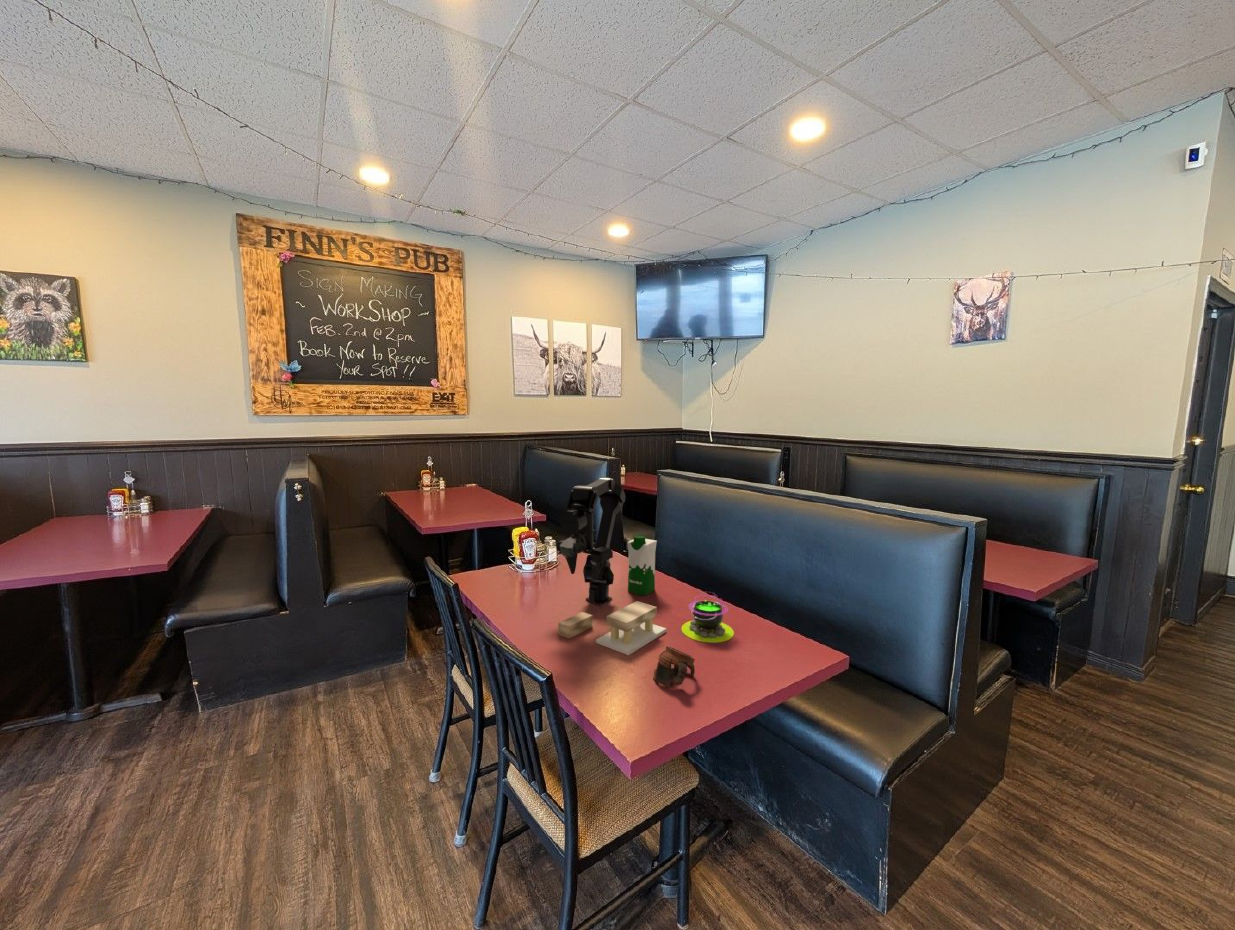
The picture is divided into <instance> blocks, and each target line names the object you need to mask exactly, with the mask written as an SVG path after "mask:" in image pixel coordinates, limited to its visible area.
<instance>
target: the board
mask: <svg viewBox="0 0 1235 930" xmlns="http://www.w3.org/2000/svg"><path fill="white" fill-rule="evenodd" d="M657 610H658V609H657V606H654V605H651V604H648V603H644V602H642V601H637V600H636V601H634V602H632V603H630V604H628V605H626V606H624V607H622V608H620V609H617V610H616V611H614V612H612V613H610V614H608V615H606V619H605V620H606V623H605V624H606V625H605V626H609V627H610V628H611V627H614V628H616V629H619V630H622V631H625V632H628V631H630V630H632V629H633V628H635V627H637V626H639V625H640V624H642V623H644V622H646V621H648V620H649V619H651V618H653V619H654V618H655V617H656V616H657V613H658V611H657Z"/></svg>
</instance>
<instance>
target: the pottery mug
mask: <svg viewBox="0 0 1235 930" xmlns="http://www.w3.org/2000/svg"><path fill="white" fill-rule="evenodd" d="M657 660H658V661H657V663H656V664H657V666H656V668H655V669H654V670H653V680H655V681H656V682H657V683H658V684H660V685H662V686H664V687H666V688H668V689H669V688H670V687H671V683H673V685H674V686H682V684H683V682H684V680H685V679H686V677H687V674H688V669H689V670H690V673H689V675H690V677H691V678H692V677H694V676H695V672H696V670H695V664H694V663H695V661H696V659H695V658H694V657H693V656H691V655H690V654H687V653H685V652H682V651H680V650H678V649H676V648H674V647H670V646H668V645H667V646H666V647H665V650H664V651H663V652H661V653H660V654H659V655H658V659H657ZM672 665H673V667H672Z"/></svg>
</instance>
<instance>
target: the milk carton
mask: <svg viewBox="0 0 1235 930" xmlns="http://www.w3.org/2000/svg"><path fill="white" fill-rule="evenodd" d="M657 542H658V540H655V539H649V538H646V536H645V535H643V534H642V535H641V534H637V535H633V539H631V540H628V541H627V550H628V562H627V564H628V566H627V567H628V568H627V569H628V570H627V572H628V574H627V592H628V593H631V594H636V595H640V596H644V597H646V596H648V595H649V594H651V593H652V592H654V591H655V590H656V580H655V579H656V578H655V577H656V575H655V574H656V550H657Z"/></svg>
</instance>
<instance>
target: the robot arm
mask: <svg viewBox="0 0 1235 930" xmlns="http://www.w3.org/2000/svg"><path fill="white" fill-rule="evenodd" d="M598 499H599V500H598ZM598 501H599V505H600V508H601V511H602V512H601V515H600V516H601V517H600V521H599V525H598V526H599V527H598V531H597V530H596V529H594V511H595V510H596V505H597V503H598ZM625 502H626V493H625V491H624V489H623V487H622V486H620V485H619V484H618V483H617V482H616V481H615V479H614V478H612V477H600V478H598V480H595V481H593V482H591V483H589V484H587V485H575V486H574V487H572V489H571V491H570V493H569V497H568V501H567V504H566V507H565V510H566V515H565V516H563V517H562V519H561V520H560V521H561V522H560V528H561V530H562V532H564V533H565V534H566V535H568V536H569V535H570V536H569V537H568V538H566V539H563V540H560V541H558V542H557V543H556V548H555V550H556V552H558V553H559V555H562V556H563V557H564V558H565V560H566V562H567V563H566V564H567V565H568V569H569V571H570V574H571V575H575V573H576V568H577V562H578V554H581V553H584V554H587V556H586V560H585V564H584V566H583V570H582V571H583V572H582V573H583V579H584V583H589V588H588V597H586V598H585V600H586V601H588V602H591V603H593V604H597V605H599V606H600V605H602V604H605V603H607V602H609V601H612V600H613V597H611V596H609V591H610V590H609V587H610V586H611V585H613V584H614V580H615V574H614V572H613V571H612V568H611V562H610V559H612V558H614V551H613V549H612V548H610V545H611V540H612V535H613V530H614V526H615V521H616V515H618V514H619V513H620V512H621V510H622V509H623V507H624V503H625ZM596 533H597V535H596V539H595V540H596V541H595V542H594V534H596Z"/></svg>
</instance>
